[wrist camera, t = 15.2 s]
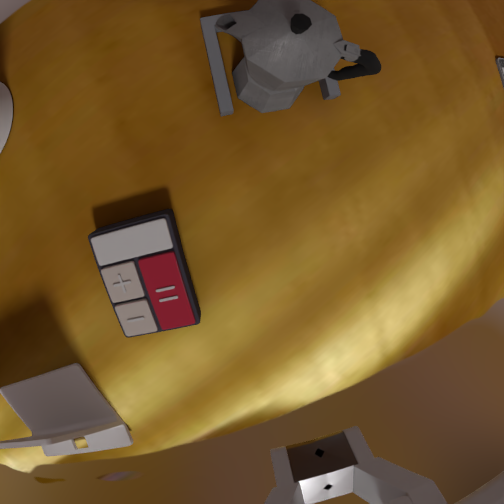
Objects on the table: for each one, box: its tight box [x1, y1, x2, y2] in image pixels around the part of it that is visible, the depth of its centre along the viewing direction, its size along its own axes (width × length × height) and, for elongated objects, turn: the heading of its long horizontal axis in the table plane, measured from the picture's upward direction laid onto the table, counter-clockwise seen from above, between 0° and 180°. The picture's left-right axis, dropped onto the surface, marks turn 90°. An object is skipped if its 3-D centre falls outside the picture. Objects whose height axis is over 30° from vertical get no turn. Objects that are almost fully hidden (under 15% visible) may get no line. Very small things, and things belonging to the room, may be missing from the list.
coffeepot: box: [215, 0, 381, 113], centre depth 28 cm, size 15×9×18 cm, turn 80°
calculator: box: [88, 209, 201, 337], centre depth 39 cm, size 11×4×15 cm
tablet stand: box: [0, 363, 133, 456], centre depth 38 cm, size 18×25×17 cm
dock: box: [200, 10, 341, 116], centre depth 34 cm, size 15×14×2 cm
